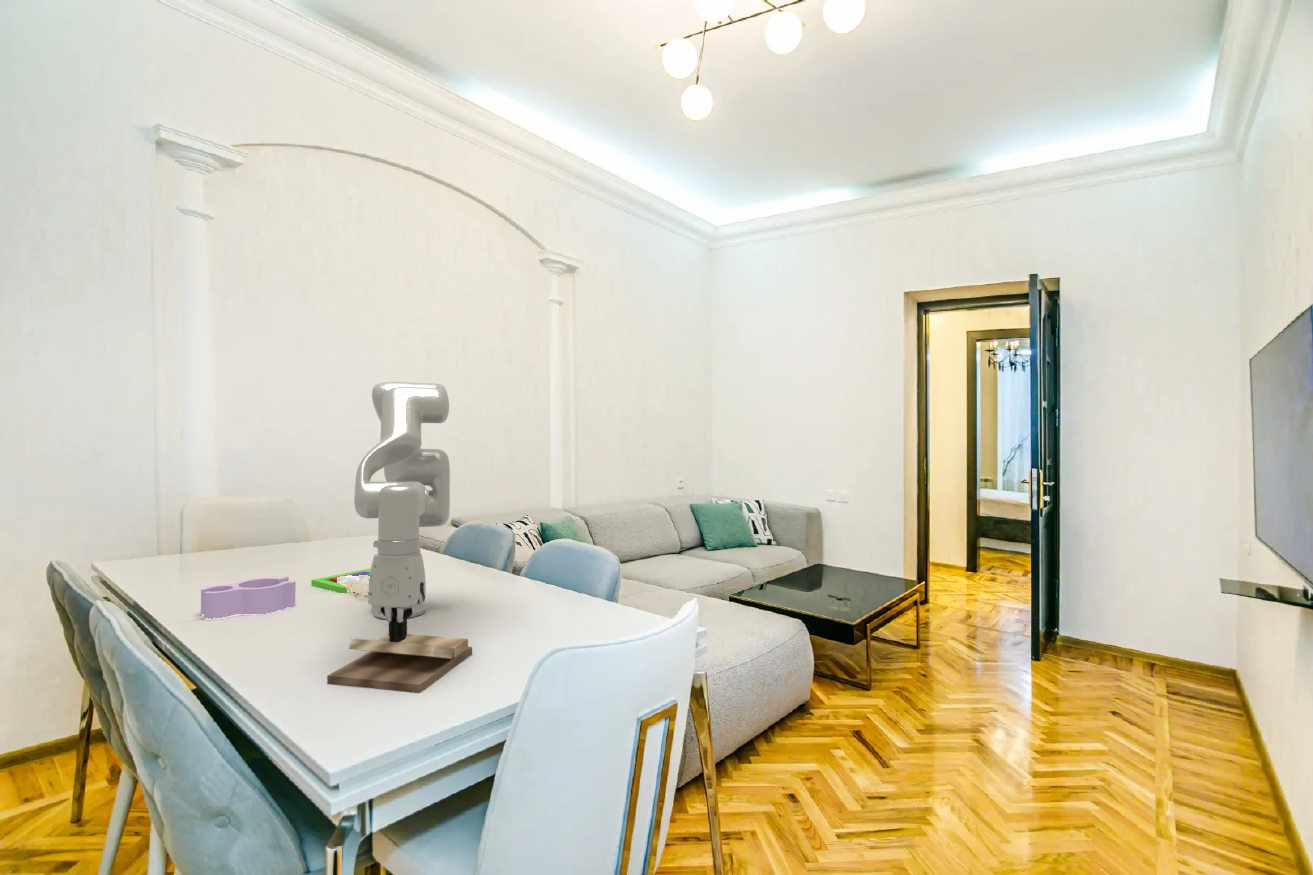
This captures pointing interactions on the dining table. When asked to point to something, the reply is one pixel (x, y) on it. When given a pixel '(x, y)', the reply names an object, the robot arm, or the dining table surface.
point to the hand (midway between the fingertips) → (397, 640)
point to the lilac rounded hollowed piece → (248, 597)
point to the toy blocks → (331, 581)
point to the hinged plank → (401, 648)
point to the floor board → (402, 666)
